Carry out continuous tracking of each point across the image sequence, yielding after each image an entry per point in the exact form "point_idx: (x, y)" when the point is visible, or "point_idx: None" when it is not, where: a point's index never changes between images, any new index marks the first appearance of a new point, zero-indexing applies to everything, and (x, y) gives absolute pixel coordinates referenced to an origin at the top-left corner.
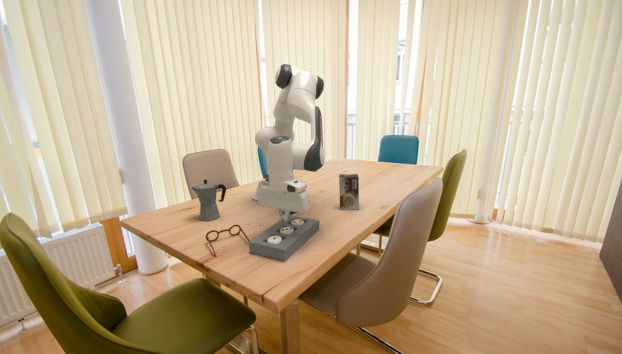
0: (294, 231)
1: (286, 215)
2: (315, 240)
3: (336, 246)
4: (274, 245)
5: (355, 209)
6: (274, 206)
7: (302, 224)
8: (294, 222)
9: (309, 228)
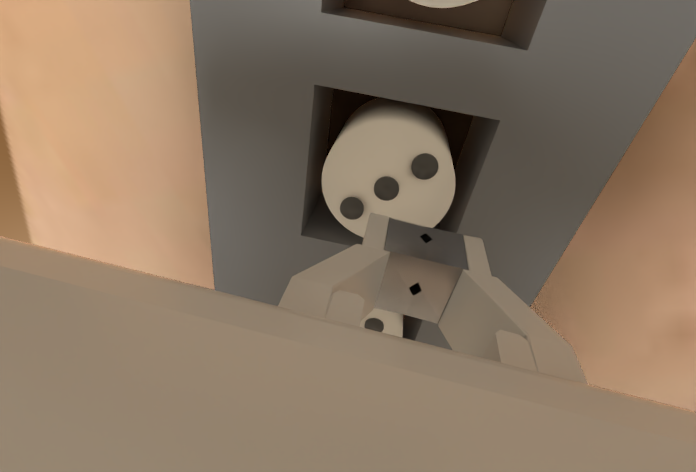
0: (299, 165)
1: (338, 262)
2: (195, 176)
3: (31, 121)
4: None
5: None
6: (643, 431)
7: None
8: (369, 317)
9: (213, 243)
